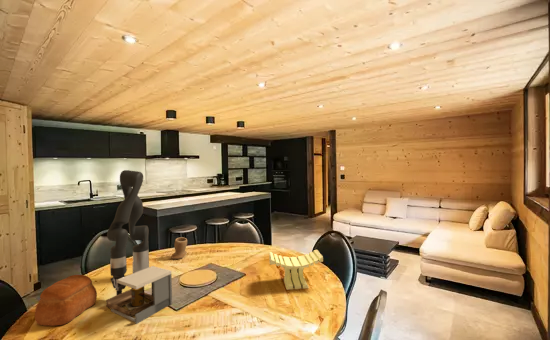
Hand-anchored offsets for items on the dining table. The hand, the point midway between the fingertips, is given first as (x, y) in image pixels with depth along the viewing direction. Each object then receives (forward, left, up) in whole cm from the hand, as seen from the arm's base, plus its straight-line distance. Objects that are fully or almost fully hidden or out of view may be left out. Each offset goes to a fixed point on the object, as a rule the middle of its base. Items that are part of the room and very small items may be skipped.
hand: (119, 296), depth 141 cm
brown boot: (-24, +62, -2) cm, 67 cm away
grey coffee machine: (+19, 0, -1) cm, 19 cm away
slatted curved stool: (+77, +61, -2) cm, 98 cm away
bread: (-9, -20, -2) cm, 22 cm away
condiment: (+14, +1, -2) cm, 14 cm away
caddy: (+12, 0, -2) cm, 12 cm away
